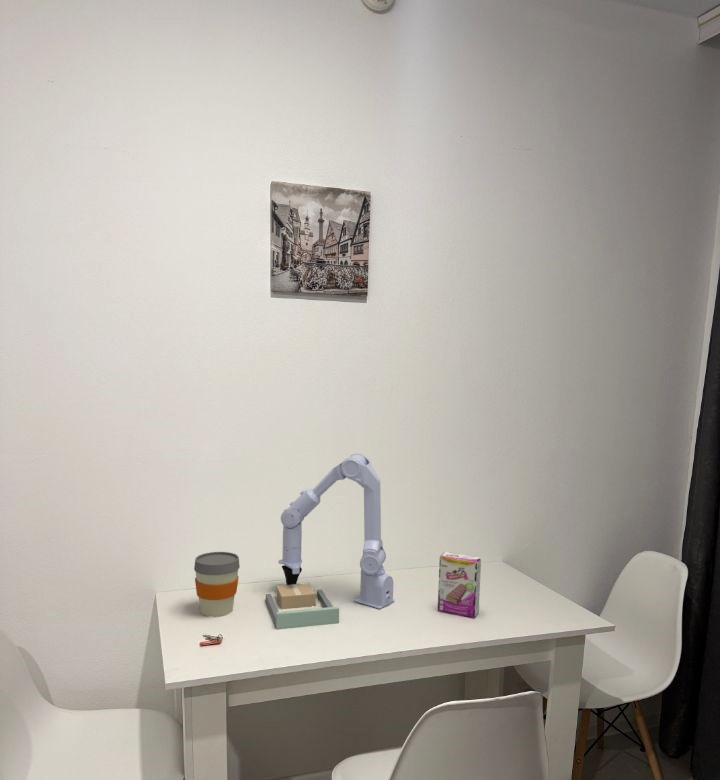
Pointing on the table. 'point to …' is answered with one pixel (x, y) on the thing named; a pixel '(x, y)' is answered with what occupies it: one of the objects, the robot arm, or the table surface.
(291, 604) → the carton
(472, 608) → the candy bar box
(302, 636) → the table surface
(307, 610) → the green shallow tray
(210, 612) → the reusable coffee cup
